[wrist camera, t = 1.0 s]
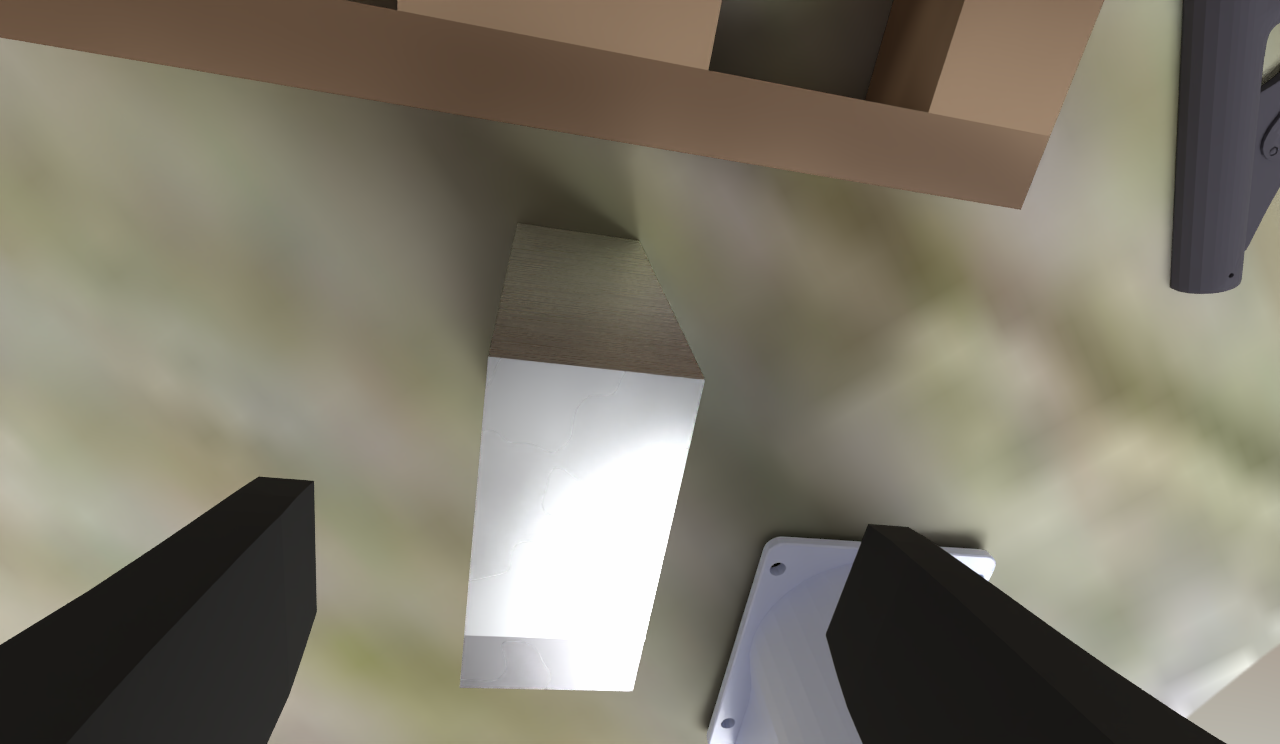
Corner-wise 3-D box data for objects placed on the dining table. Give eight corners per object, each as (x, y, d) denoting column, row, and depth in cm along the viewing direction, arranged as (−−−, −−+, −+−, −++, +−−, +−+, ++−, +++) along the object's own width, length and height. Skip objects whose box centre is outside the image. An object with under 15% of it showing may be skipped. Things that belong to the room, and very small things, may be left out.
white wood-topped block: (602, 452, 19) (632, 691, 12) (496, 443, 19) (459, 687, 11) (639, 240, 17) (705, 379, 9) (517, 223, 16) (488, 356, 9)
